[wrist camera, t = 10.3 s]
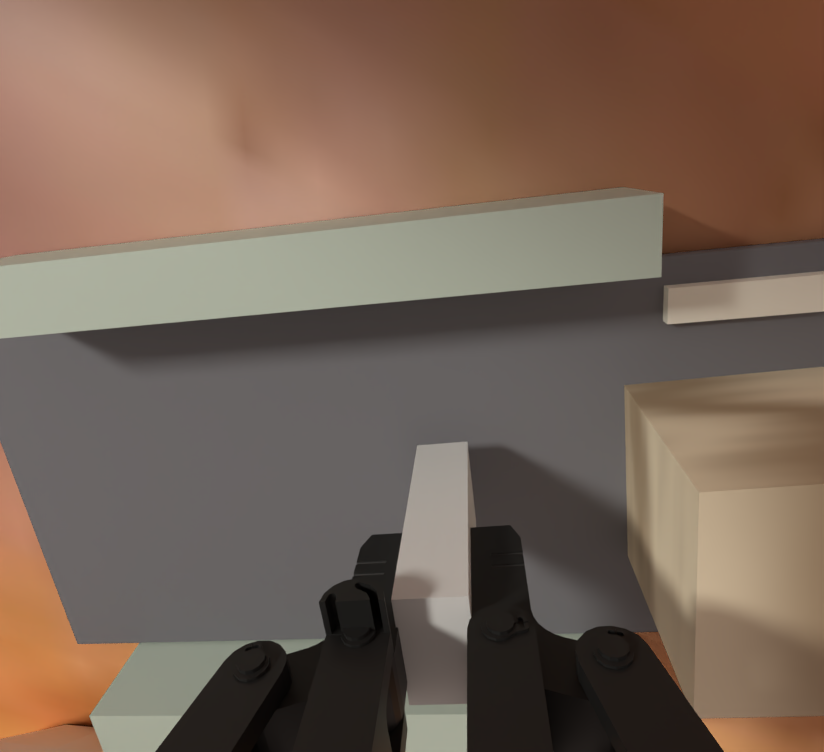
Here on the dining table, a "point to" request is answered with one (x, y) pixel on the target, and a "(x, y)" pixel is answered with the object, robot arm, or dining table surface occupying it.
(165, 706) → the channel
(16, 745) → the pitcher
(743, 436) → the block
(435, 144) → the dining table surface
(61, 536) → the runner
